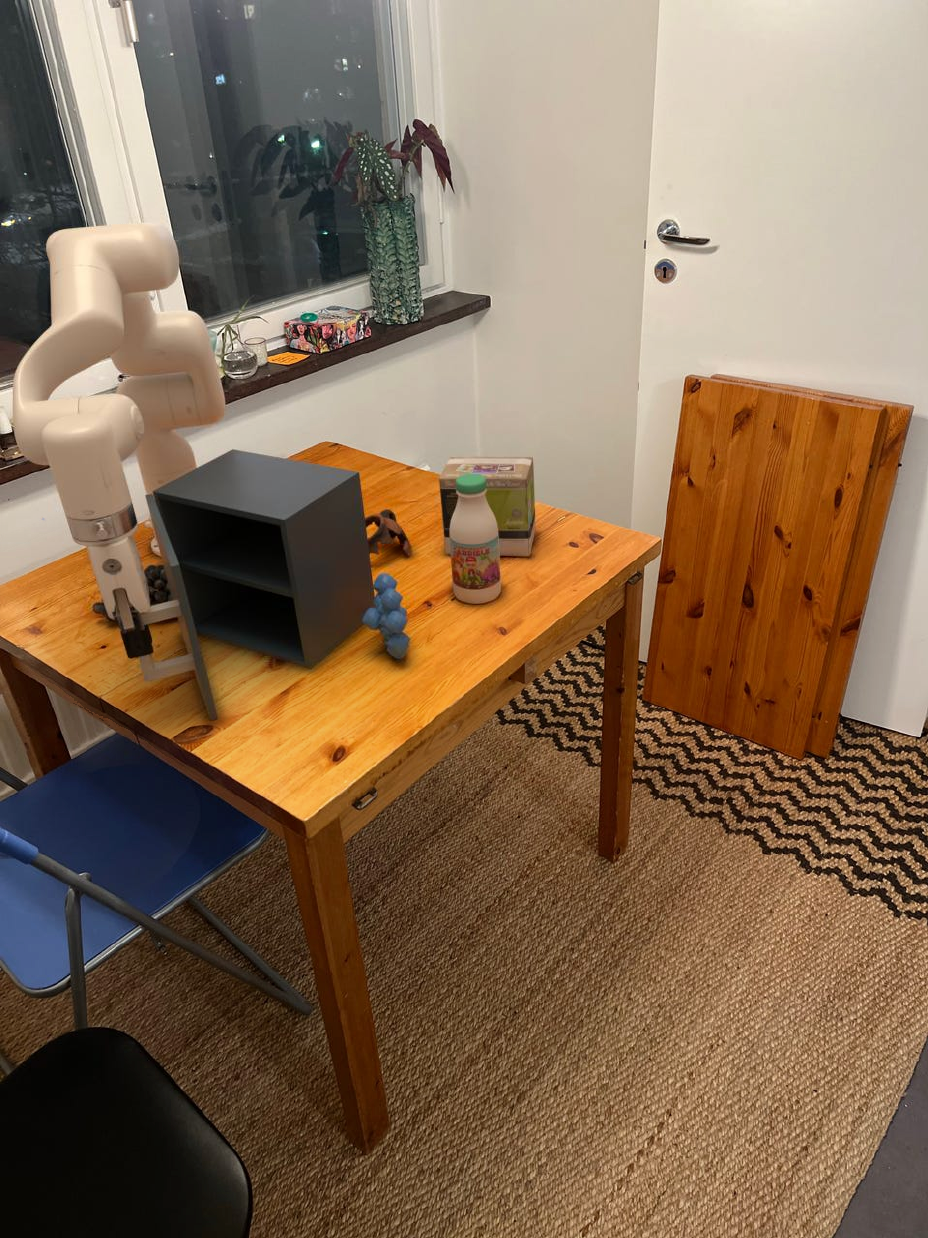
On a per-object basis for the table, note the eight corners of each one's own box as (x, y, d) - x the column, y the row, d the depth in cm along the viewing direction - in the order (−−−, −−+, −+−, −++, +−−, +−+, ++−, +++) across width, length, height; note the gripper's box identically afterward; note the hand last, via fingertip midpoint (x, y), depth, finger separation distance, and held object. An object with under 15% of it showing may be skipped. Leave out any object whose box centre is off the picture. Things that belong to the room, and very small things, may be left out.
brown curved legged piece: (413, 567, 157) (385, 536, 152) (368, 585, 161) (340, 555, 156) (419, 521, 165) (393, 490, 160) (376, 539, 169) (350, 509, 164)
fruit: (77, 580, 140) (177, 564, 141) (90, 571, 148) (185, 556, 149) (91, 634, 142) (189, 618, 143) (103, 622, 150) (196, 607, 151)
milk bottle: (451, 583, 151) (443, 470, 140) (498, 579, 151) (493, 466, 140) (455, 607, 144) (446, 491, 134) (503, 602, 145) (499, 486, 134)
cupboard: (311, 670, 132) (284, 519, 119) (188, 632, 142) (152, 491, 130) (377, 613, 144) (359, 471, 131) (259, 582, 155) (232, 448, 142)
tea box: (536, 532, 165) (534, 455, 157) (529, 558, 156) (528, 478, 148) (454, 529, 167) (449, 453, 159) (443, 555, 159) (437, 477, 151)
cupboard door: (160, 735, 121) (114, 579, 108) (138, 646, 139) (96, 505, 127) (218, 718, 123) (179, 564, 110) (188, 633, 142) (152, 493, 129)
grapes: (359, 634, 139) (349, 565, 133) (402, 626, 140) (394, 557, 134) (374, 676, 129) (364, 604, 123) (420, 666, 131) (413, 594, 124)
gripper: (138, 541, 102) (175, 675, 112) (132, 490, 115) (166, 614, 125) (68, 555, 100) (111, 690, 110) (70, 501, 113) (109, 627, 123)
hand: (140, 649), depth 117 cm, fingers closed on cupboard door
